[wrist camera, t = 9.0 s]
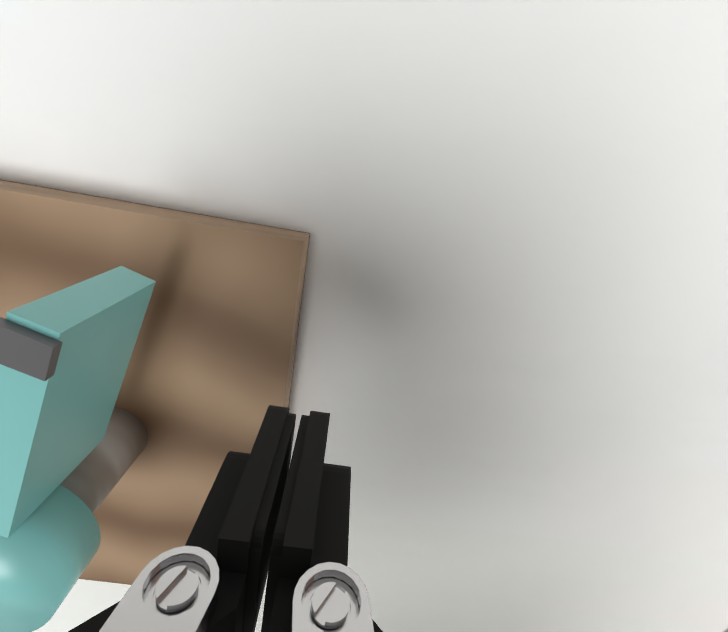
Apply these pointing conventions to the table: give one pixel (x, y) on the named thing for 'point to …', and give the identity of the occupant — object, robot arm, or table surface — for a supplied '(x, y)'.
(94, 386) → the teal lever handle
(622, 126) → the table surface
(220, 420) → the post block
